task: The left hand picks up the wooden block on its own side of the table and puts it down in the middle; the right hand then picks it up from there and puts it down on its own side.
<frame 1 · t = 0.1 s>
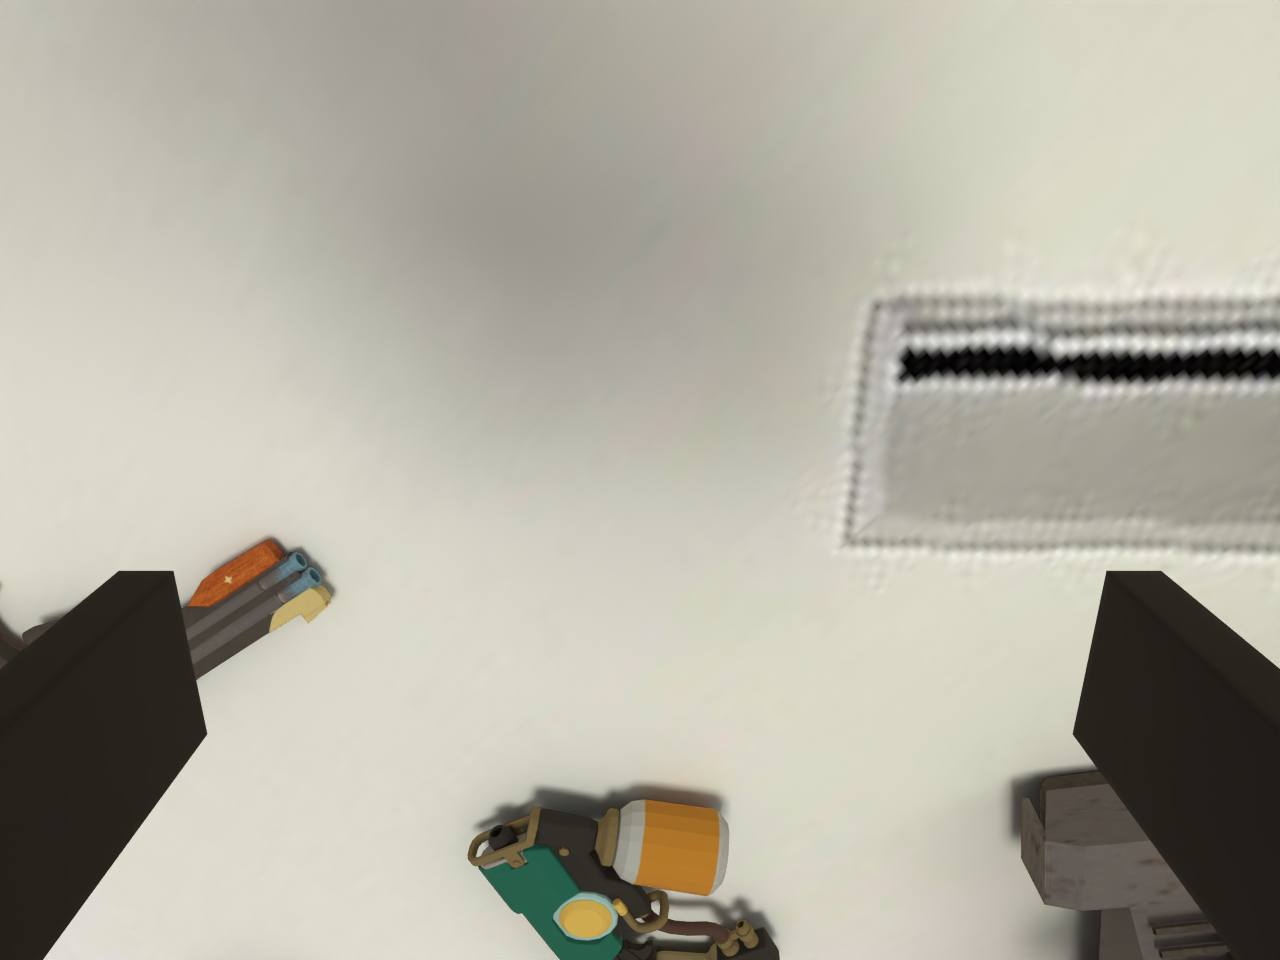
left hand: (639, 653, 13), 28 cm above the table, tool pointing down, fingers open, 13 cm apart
toy gun: (131, 610, 44), on the table
spray gun: (632, 890, 51), on the table
toy: (1231, 889, 51), on the table
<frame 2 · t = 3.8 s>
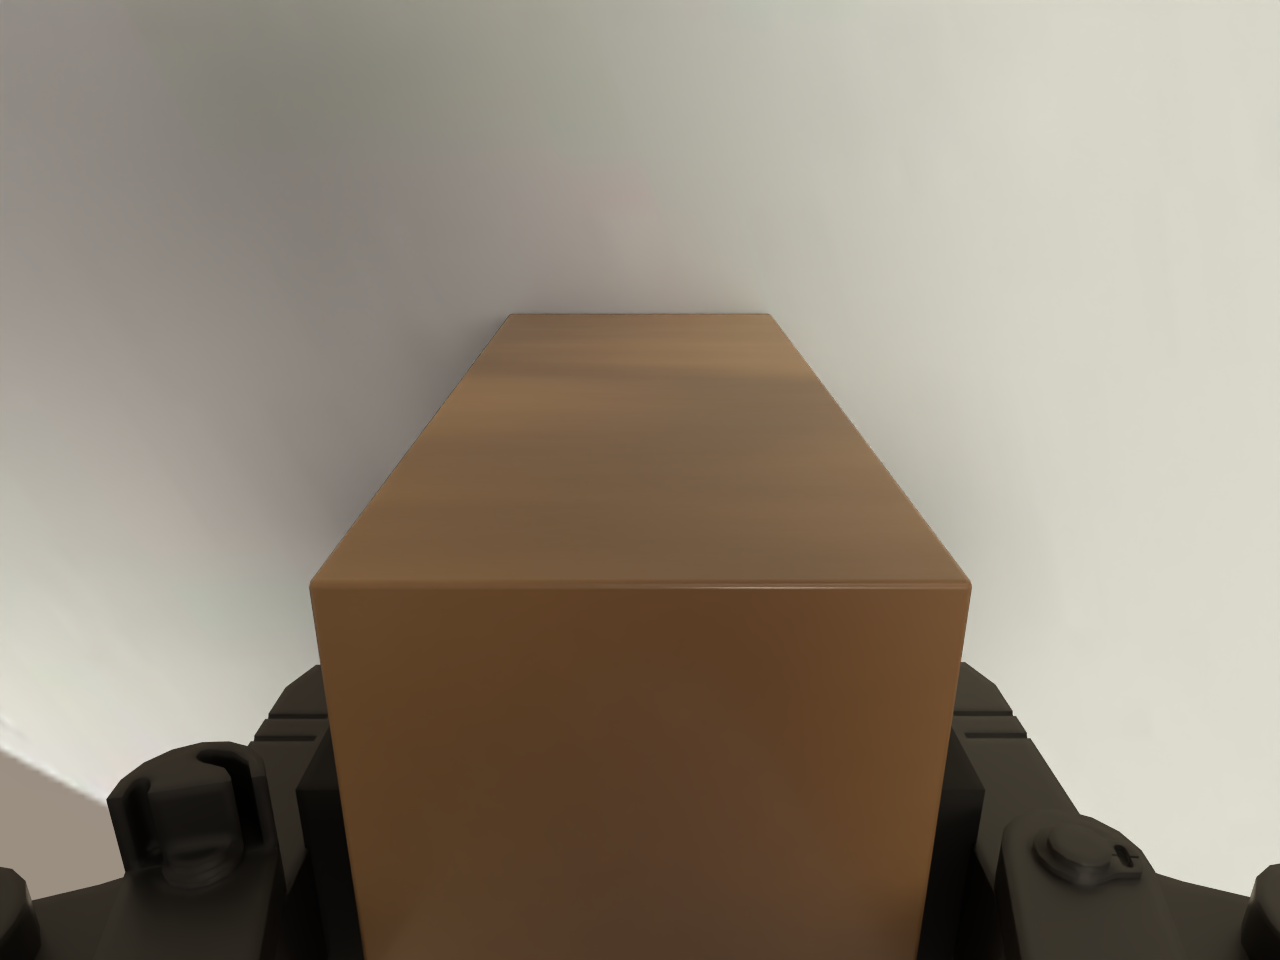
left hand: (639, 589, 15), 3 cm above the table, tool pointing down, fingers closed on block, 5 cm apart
block: (640, 510, 18), on the table, touching left hand
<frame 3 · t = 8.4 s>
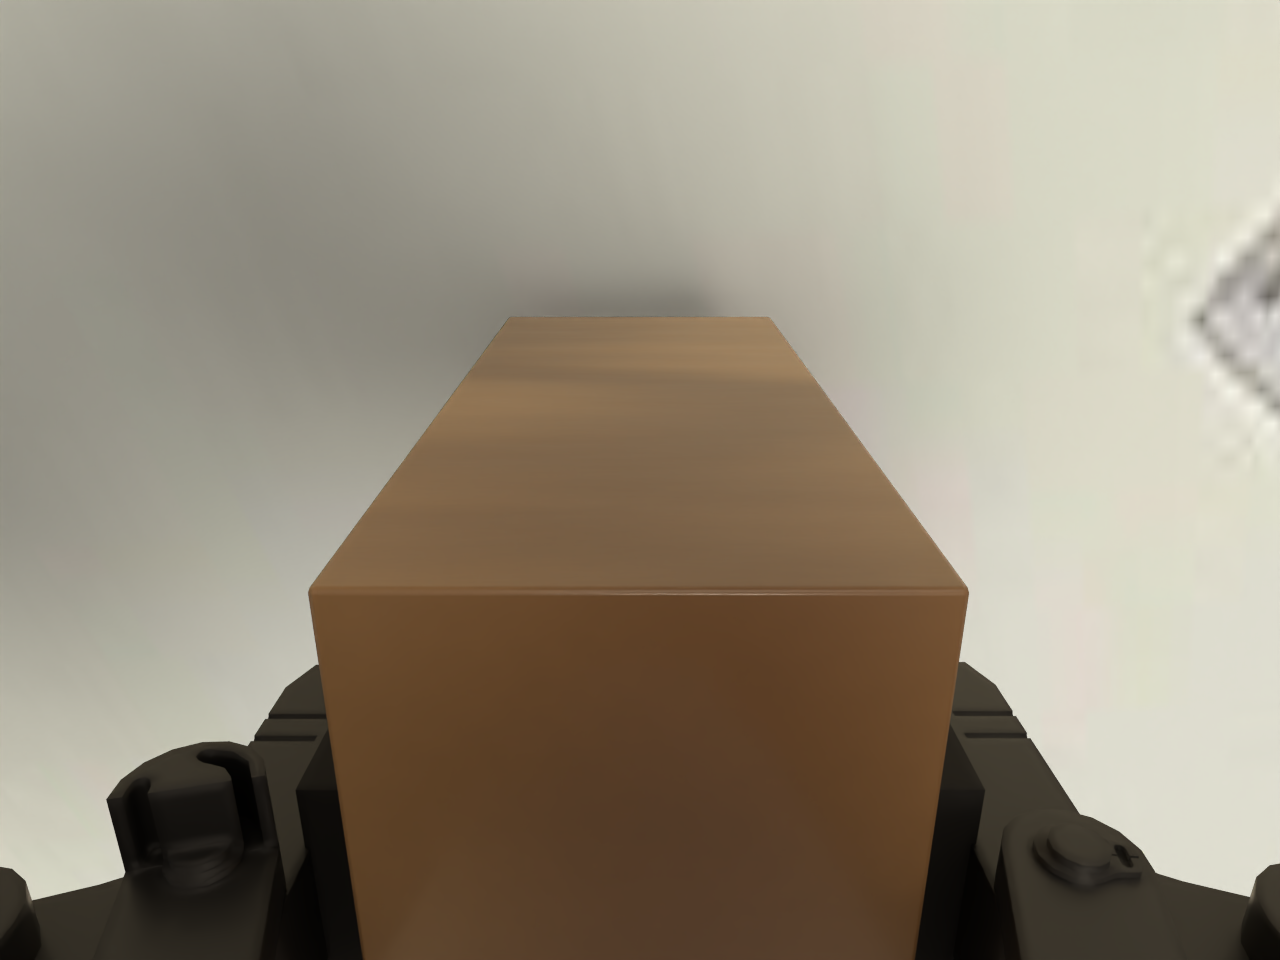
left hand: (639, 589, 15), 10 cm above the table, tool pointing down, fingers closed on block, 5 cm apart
block: (639, 512, 18), point 7 cm above the table, touching left hand
when the left hand's fingers open (5 cm above the table, at t = 13.0 s): block drops 2 cm, on the table.
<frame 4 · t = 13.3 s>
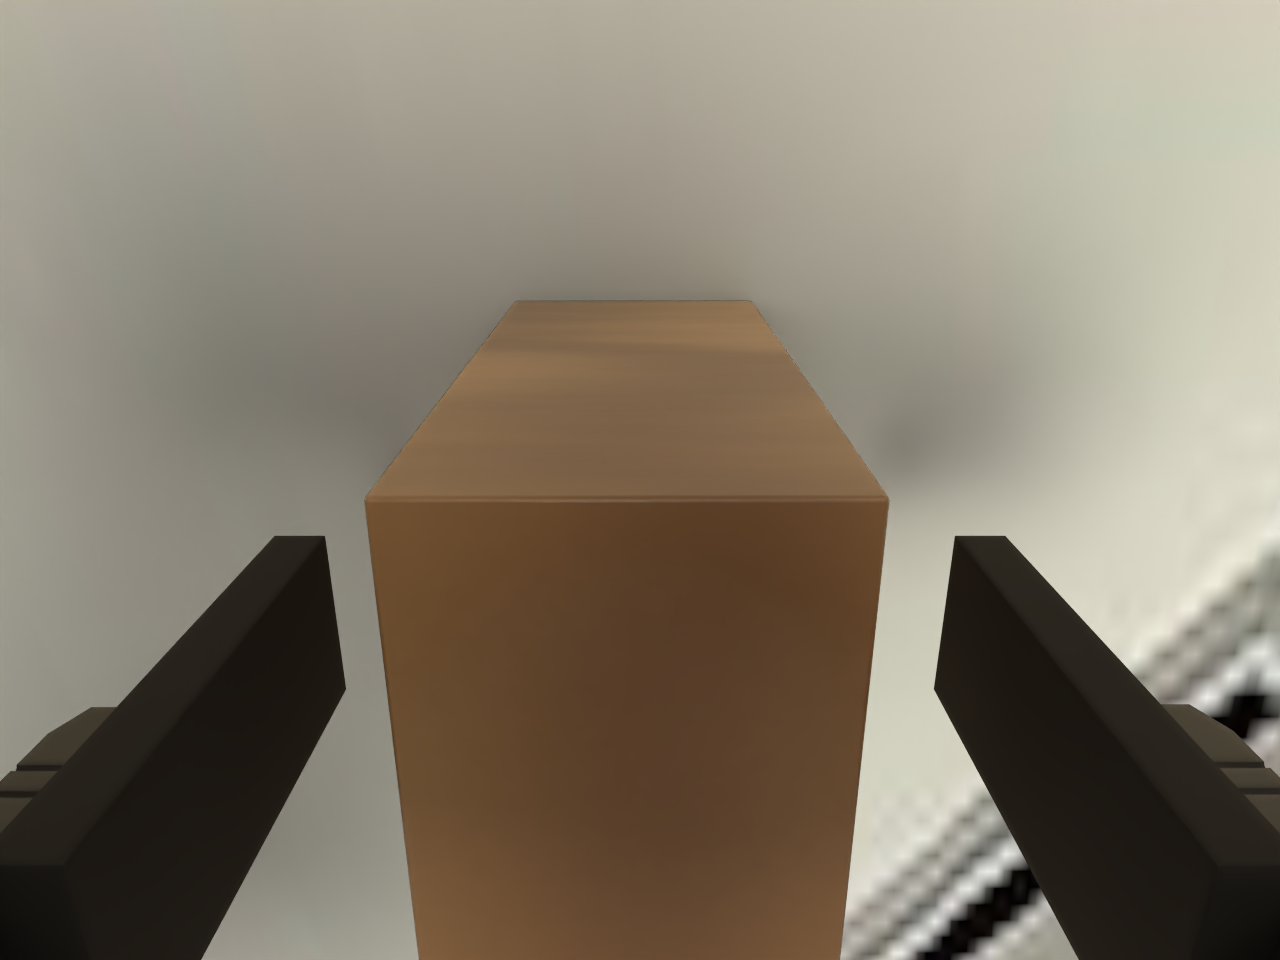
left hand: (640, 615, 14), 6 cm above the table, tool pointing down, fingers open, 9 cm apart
block: (633, 481, 19), on the table
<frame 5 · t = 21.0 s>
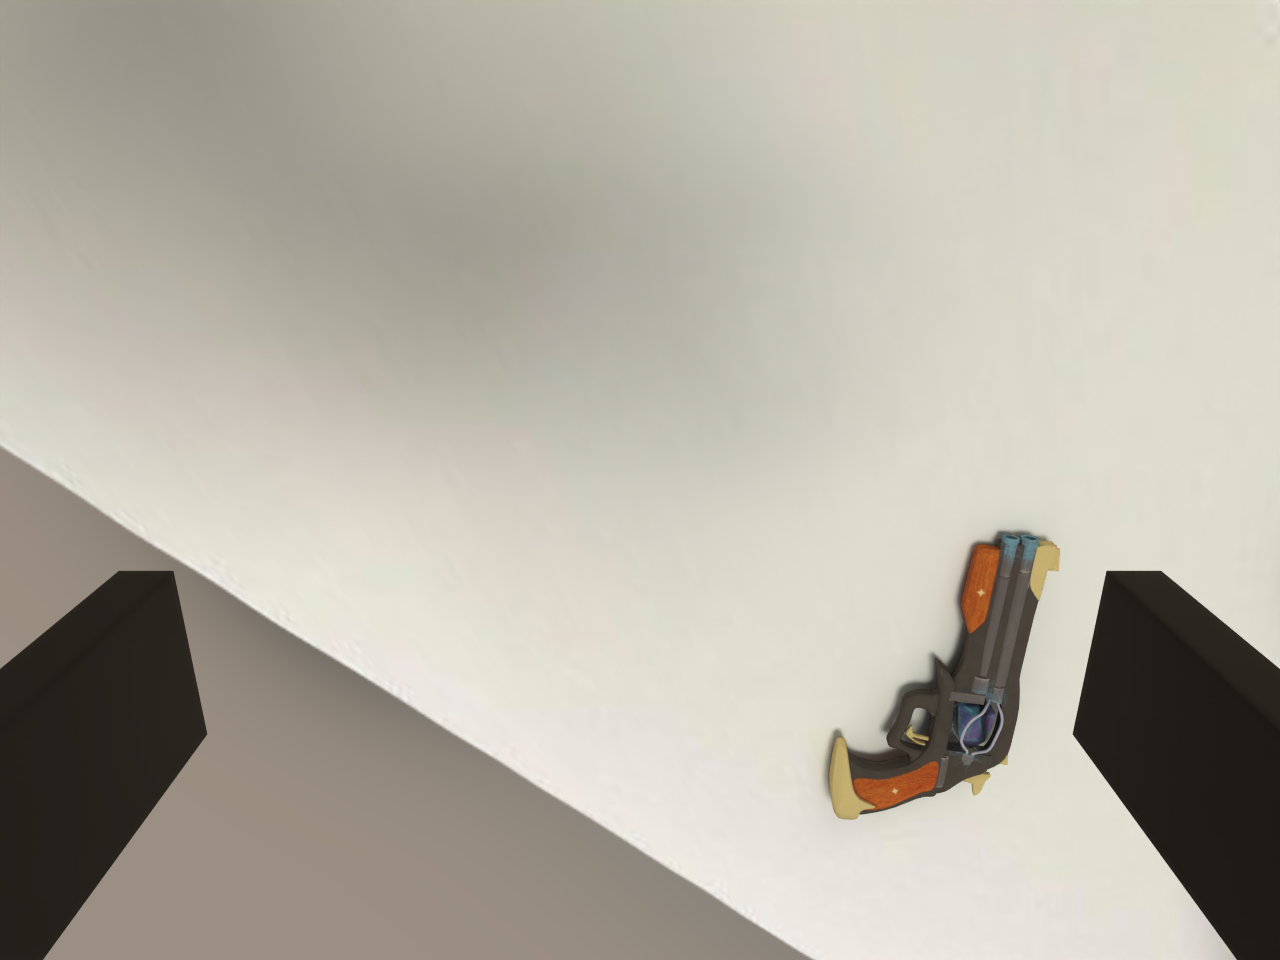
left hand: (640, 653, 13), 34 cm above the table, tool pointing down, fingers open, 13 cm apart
toy gun: (929, 673, 52), on the table
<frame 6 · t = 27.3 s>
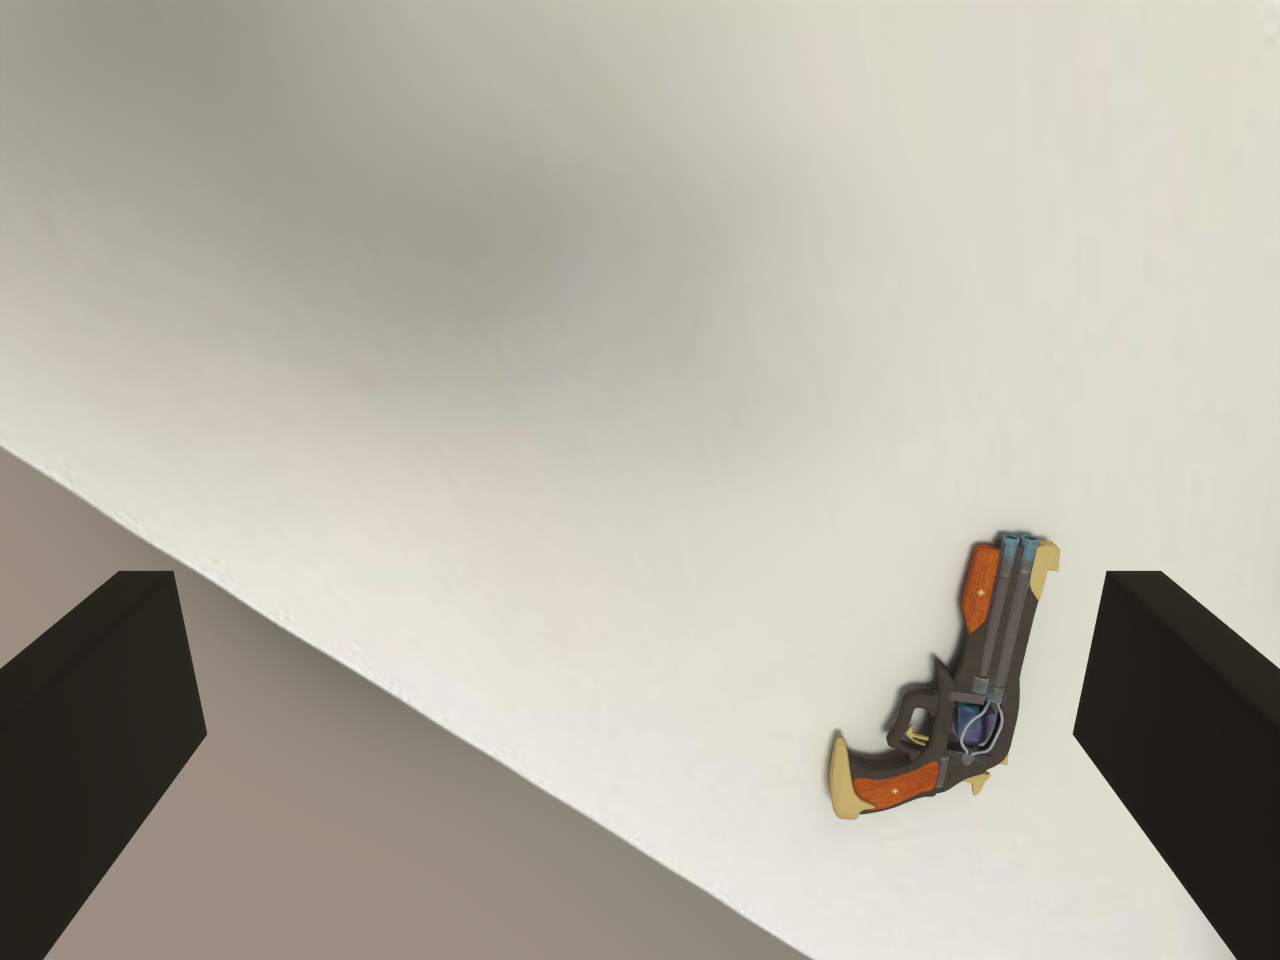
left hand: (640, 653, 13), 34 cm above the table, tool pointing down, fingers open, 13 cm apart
toy gun: (929, 673, 52), on the table
when the right hand's fingers open (5 cm above the table, at t = 33.5 s): block drops 2 cm, on the table.
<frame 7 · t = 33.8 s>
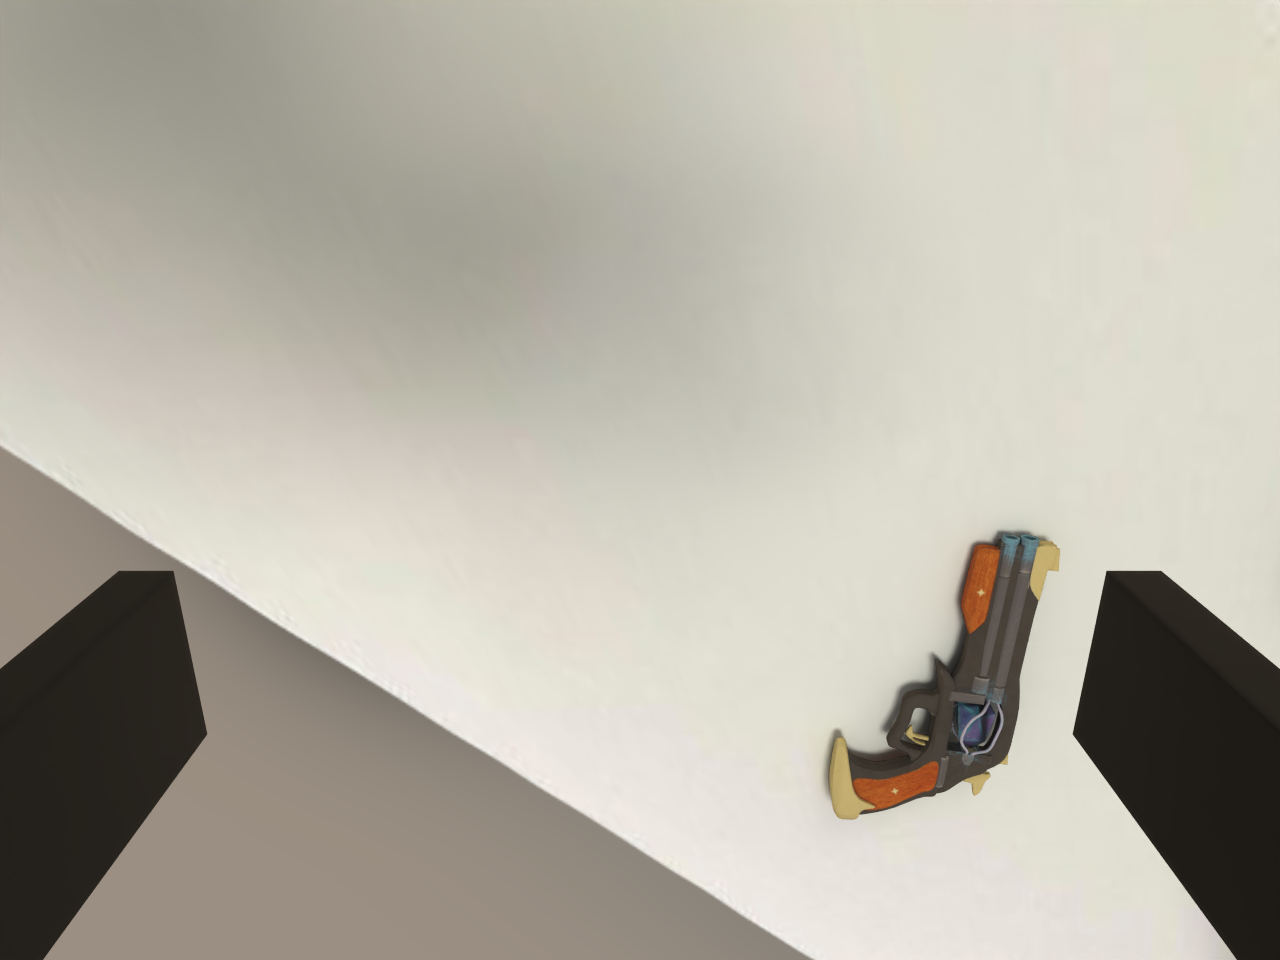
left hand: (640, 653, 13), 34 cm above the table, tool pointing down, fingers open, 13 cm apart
toy gun: (929, 673, 52), on the table
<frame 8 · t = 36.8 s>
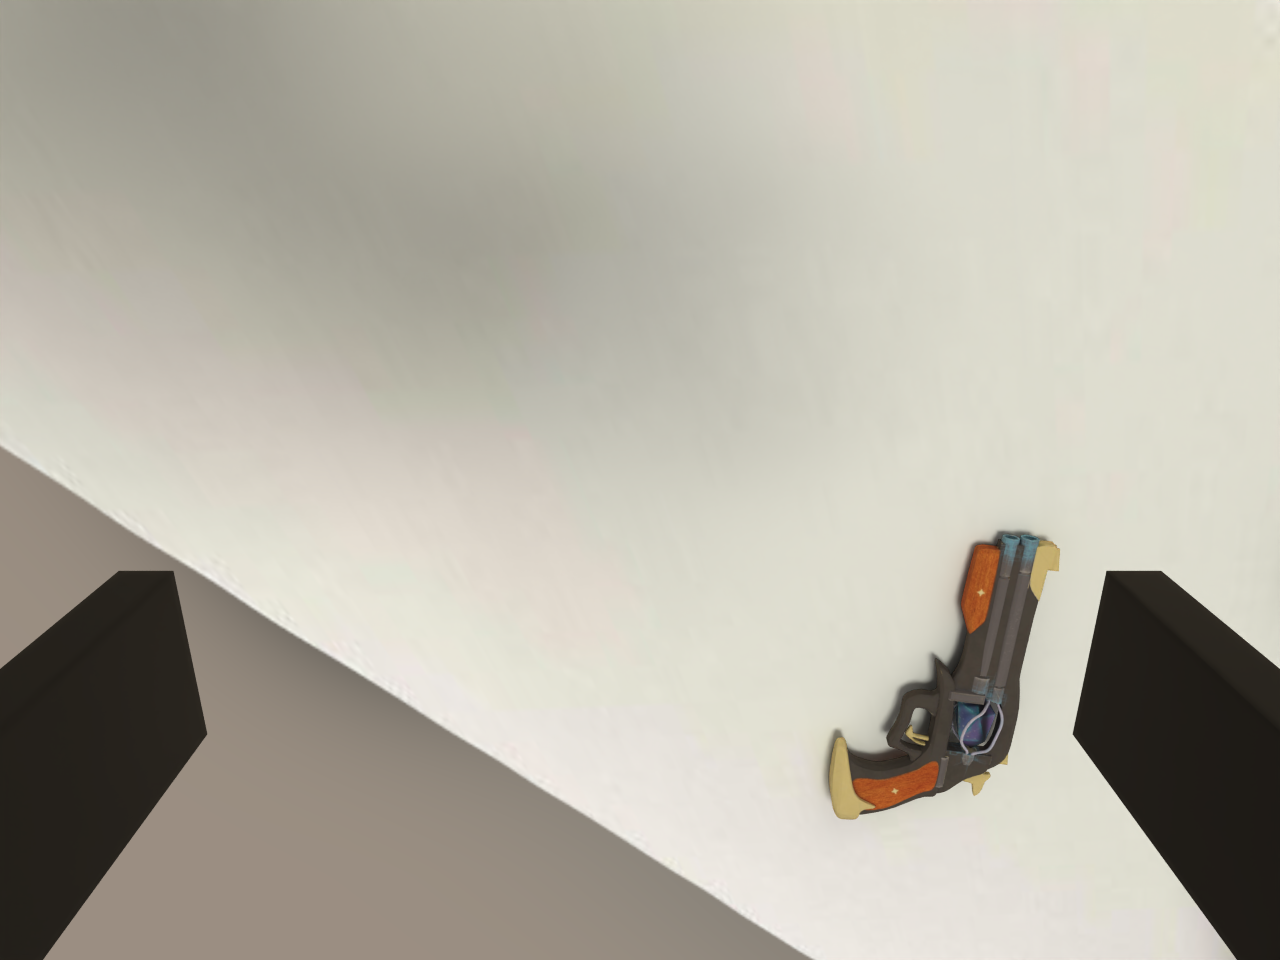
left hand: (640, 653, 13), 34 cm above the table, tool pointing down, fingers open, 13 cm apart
toy gun: (929, 673, 52), on the table
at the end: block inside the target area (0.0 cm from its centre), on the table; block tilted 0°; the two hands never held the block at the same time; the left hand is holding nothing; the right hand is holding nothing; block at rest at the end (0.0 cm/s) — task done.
